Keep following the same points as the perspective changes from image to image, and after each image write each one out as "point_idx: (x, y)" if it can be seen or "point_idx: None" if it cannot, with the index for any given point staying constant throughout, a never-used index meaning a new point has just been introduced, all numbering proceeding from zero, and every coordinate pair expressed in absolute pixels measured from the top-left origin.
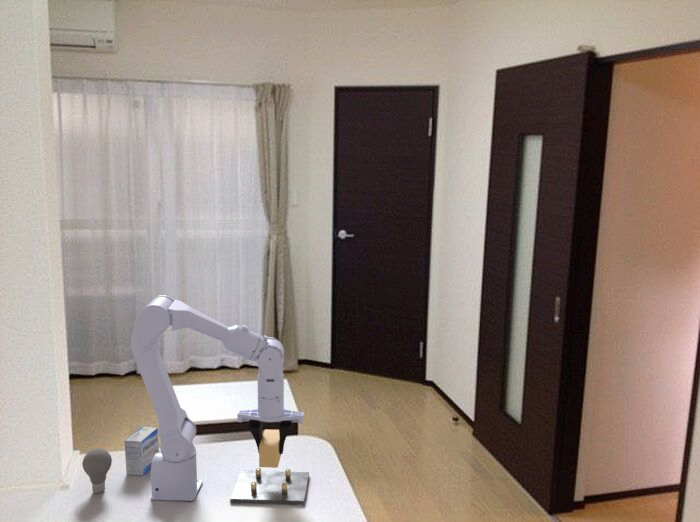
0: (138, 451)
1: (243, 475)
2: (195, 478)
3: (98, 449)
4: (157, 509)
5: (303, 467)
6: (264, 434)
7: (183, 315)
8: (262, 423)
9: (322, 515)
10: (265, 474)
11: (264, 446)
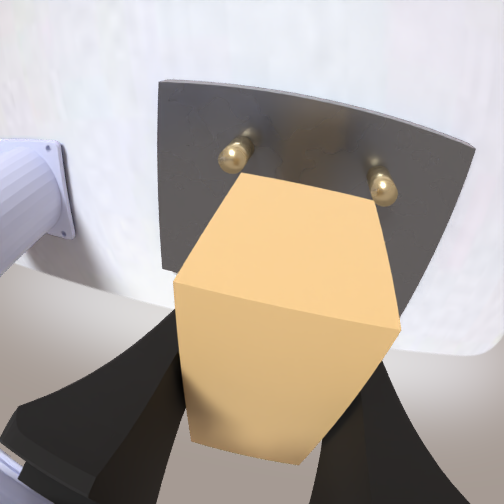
0: None
1: (174, 124)
2: (36, 221)
3: None
4: (33, 251)
5: (459, 58)
6: (193, 368)
7: None
8: (128, 450)
9: (424, 349)
10: (274, 123)
11: (223, 448)
